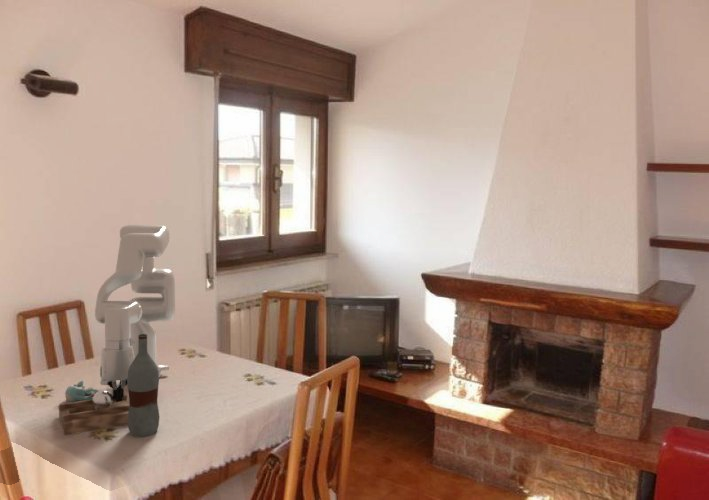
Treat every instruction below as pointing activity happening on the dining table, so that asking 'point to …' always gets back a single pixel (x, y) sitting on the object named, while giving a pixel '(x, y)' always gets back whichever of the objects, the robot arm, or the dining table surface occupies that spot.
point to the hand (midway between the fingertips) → (118, 400)
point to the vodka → (143, 392)
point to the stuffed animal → (79, 392)
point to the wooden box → (92, 416)
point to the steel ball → (102, 399)
